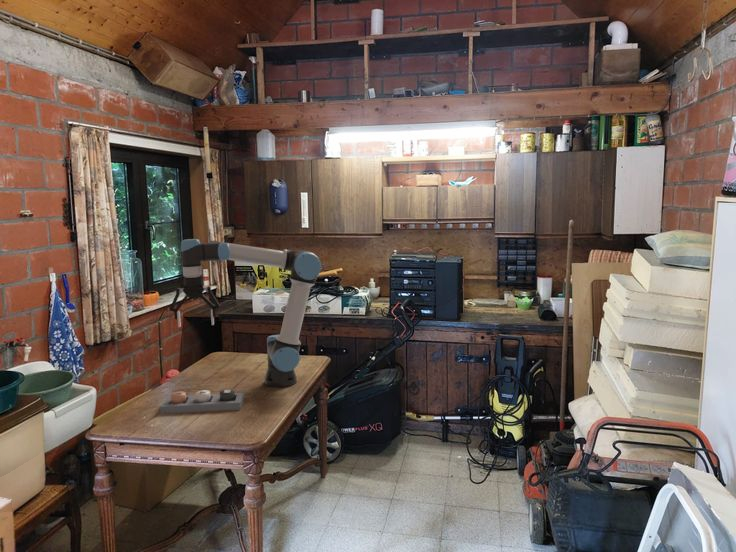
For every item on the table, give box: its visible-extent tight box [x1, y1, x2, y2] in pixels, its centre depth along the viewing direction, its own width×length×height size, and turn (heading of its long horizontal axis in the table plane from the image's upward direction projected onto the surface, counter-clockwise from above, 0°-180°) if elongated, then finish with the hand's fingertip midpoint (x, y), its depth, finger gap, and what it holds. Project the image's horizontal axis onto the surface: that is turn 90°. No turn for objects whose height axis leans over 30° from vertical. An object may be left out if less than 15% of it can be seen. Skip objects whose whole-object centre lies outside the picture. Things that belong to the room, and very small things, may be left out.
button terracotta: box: [170, 390, 187, 404], centre depth 224 cm, size 6×6×4 cm
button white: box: [194, 389, 211, 403], centre depth 226 cm, size 6×6×4 cm
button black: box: [219, 388, 236, 401], centre depth 227 cm, size 6×6×4 cm
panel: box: [159, 392, 245, 415], centre depth 226 cm, size 32×12×3 cm, turn 97°
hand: (196, 325), depth 228 cm, fingers open, 13 cm apart
